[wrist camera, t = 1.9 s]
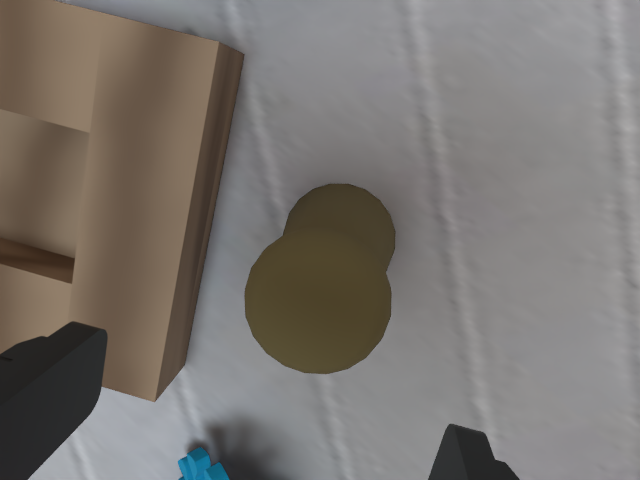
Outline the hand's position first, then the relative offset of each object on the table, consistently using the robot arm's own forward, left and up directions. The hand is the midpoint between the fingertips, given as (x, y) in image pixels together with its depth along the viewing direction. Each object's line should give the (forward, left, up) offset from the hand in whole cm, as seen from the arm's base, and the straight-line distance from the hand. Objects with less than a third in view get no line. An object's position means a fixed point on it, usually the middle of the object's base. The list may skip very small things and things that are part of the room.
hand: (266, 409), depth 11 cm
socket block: (+16, +1, -16) cm, 22 cm away
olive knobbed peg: (0, 0, -16) cm, 16 cm away
